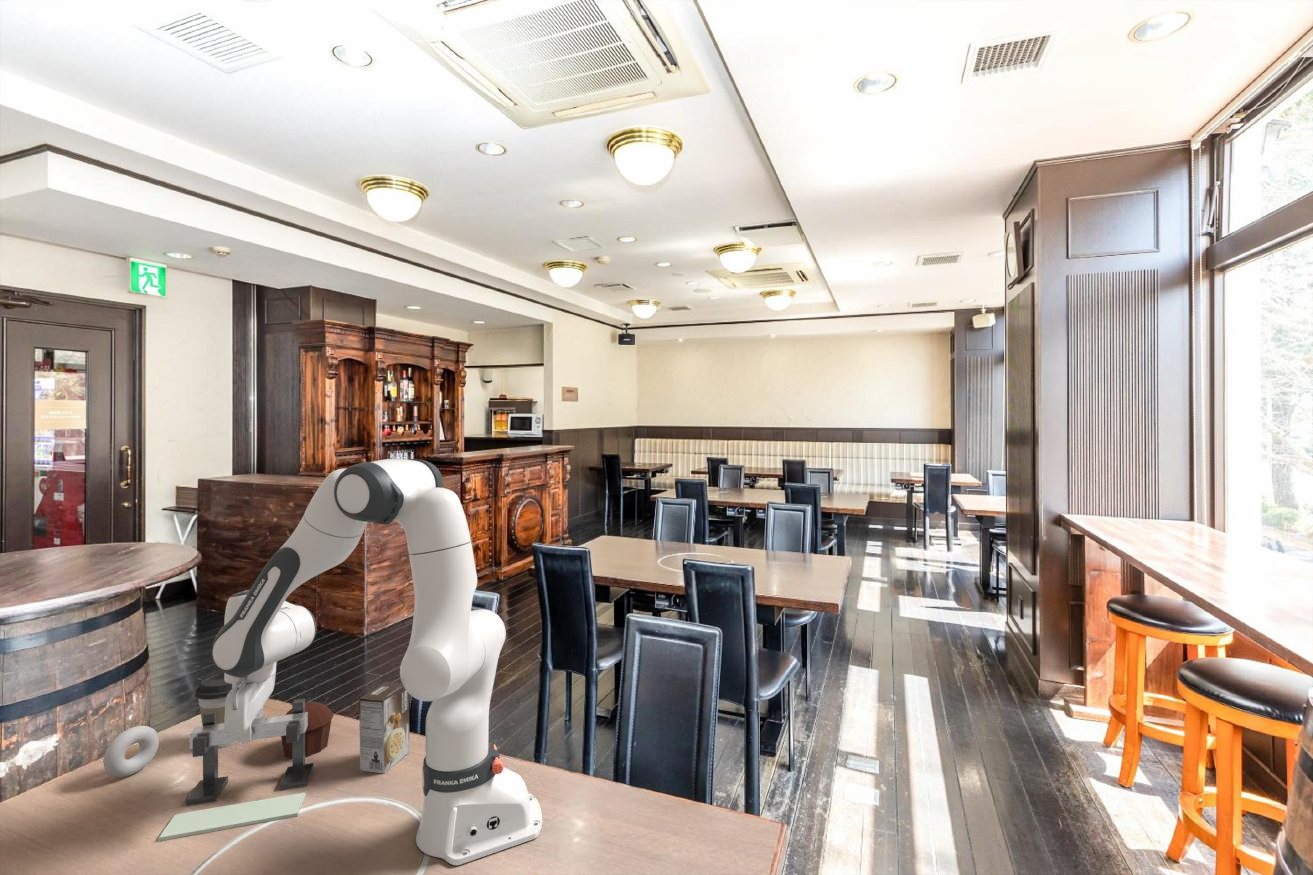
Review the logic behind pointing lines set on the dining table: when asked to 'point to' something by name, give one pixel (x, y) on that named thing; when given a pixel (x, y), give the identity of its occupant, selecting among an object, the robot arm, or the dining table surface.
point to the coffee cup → (214, 697)
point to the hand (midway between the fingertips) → (251, 734)
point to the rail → (259, 726)
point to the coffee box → (384, 727)
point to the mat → (233, 816)
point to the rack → (214, 786)
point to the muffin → (313, 729)
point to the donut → (118, 747)
